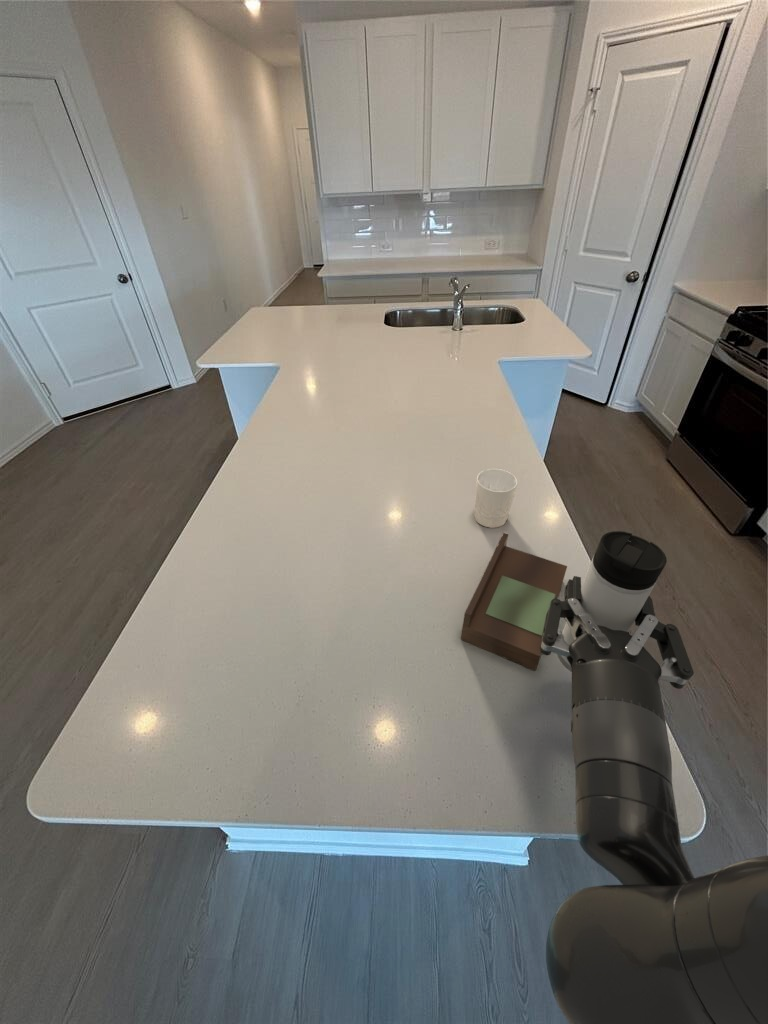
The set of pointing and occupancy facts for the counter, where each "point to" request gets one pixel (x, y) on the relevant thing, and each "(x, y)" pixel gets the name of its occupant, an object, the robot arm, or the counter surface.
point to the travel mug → (618, 582)
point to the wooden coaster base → (512, 604)
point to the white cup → (494, 496)
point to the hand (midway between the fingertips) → (606, 587)
